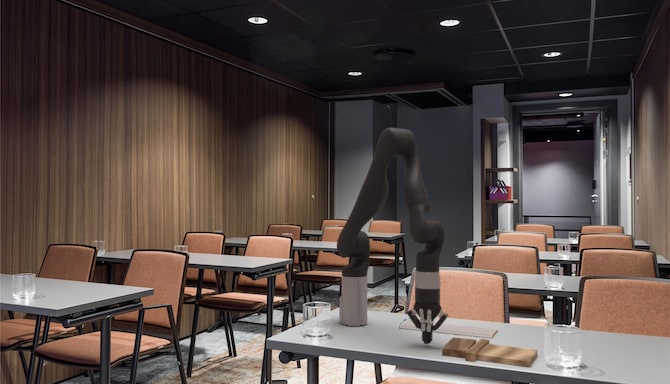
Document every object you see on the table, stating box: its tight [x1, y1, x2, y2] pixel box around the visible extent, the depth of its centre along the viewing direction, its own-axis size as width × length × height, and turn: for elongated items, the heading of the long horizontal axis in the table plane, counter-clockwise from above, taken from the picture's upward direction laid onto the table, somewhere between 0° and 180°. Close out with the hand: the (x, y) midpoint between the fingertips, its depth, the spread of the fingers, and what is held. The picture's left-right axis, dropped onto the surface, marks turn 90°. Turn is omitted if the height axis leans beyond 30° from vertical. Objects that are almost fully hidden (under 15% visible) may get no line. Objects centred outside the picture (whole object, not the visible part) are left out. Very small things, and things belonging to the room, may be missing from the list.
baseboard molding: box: [398, 317, 498, 340], centre depth 183 cm, size 31×3×12 cm
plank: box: [441, 337, 477, 359], centre depth 158 cm, size 2×14×7 cm
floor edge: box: [464, 338, 538, 368], centre depth 152 cm, size 16×17×2 cm
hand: (427, 343), depth 163 cm, fingers closed
